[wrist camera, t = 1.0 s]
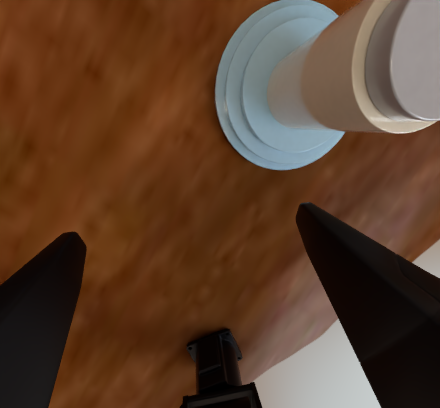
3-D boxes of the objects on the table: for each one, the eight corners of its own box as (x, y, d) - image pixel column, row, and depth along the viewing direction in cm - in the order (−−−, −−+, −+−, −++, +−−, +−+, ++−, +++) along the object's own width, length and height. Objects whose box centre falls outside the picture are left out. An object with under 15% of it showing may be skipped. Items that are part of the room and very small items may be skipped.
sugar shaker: (339, 115, 19) (523, 103, 8) (276, 139, 19) (381, 156, 9) (329, 37, 17) (560, -110, 6) (258, 64, 17) (370, -36, 6)
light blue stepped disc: (360, 140, 23) (384, 143, 20) (240, 187, 23) (247, 195, 20) (345, -22, 18) (373, -49, 15) (190, 38, 18) (190, 22, 15)
